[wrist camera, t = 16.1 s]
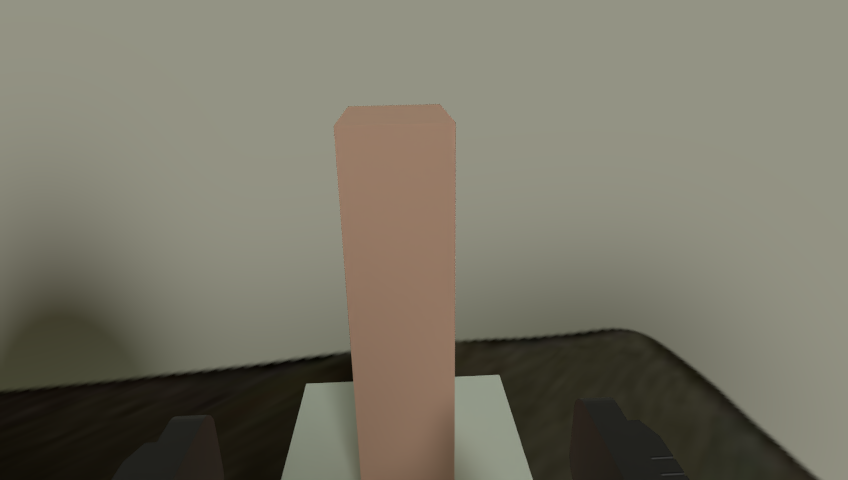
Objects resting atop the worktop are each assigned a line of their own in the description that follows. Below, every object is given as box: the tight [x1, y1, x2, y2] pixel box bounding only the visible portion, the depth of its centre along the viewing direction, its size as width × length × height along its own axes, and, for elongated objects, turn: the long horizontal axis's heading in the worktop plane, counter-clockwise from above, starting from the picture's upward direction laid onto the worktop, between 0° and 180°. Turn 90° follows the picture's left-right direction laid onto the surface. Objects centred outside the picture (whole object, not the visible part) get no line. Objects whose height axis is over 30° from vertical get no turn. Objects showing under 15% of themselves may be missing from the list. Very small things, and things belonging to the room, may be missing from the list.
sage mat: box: [281, 375, 533, 480], centre depth 26 cm, size 12×14×1 cm
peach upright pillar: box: [334, 104, 456, 480], centre depth 23 cm, size 4×6×17 cm, turn 3°
